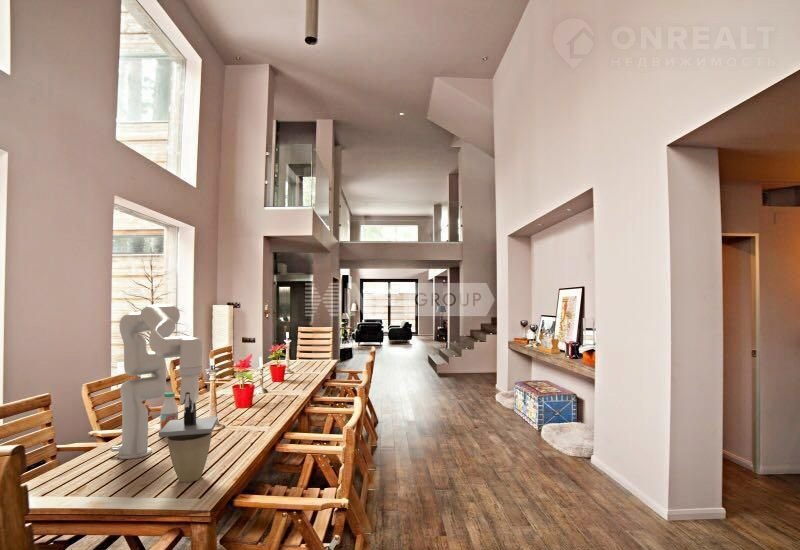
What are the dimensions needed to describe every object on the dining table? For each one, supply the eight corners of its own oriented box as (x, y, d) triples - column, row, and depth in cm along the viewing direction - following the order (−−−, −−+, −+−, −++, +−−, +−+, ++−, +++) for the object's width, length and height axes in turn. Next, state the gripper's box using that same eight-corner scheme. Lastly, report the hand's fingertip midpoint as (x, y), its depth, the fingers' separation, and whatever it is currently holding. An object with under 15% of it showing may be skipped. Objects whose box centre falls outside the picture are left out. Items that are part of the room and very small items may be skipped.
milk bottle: (156, 436, 224) (156, 393, 225) (169, 431, 231) (170, 390, 232) (168, 437, 221) (168, 395, 222) (181, 433, 228) (181, 391, 229)
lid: (158, 436, 160) (159, 417, 161) (170, 424, 177) (170, 406, 177) (211, 432, 165) (211, 414, 165) (217, 420, 181) (217, 403, 181)
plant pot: (190, 469, 180) (190, 427, 180) (220, 474, 174) (220, 430, 175) (156, 483, 166) (157, 437, 167) (188, 489, 160) (188, 442, 161)
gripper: (184, 368, 179) (183, 417, 178) (174, 375, 163) (173, 429, 162) (205, 368, 181) (204, 415, 180) (197, 374, 165) (196, 427, 164)
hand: (190, 421), depth 171 cm, fingers closed on lid, 4 cm apart
